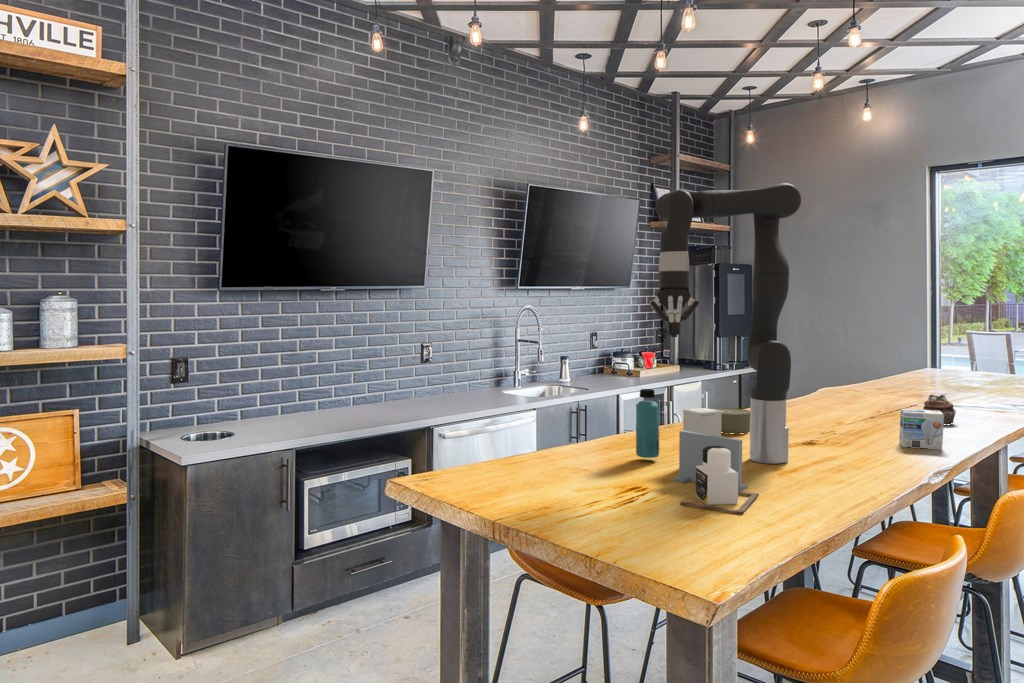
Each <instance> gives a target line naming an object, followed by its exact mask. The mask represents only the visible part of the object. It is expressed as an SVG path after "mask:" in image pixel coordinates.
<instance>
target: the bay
mask: <svg viewBox="0 0 1024 683" xmlns="http://www.w3.org/2000/svg"><path fill="white" fill-rule="evenodd" d="M743 495H744V497H748V498H747V499H746V500H745V502H744V503H743V504H741V506H740V507H739V508H738V509H736V508H730V507H729V508H728V507H723V506H717V505H706V504H705V503H704V504H703V503H696V502H689V501H685V500H684V501H680V504H679V505H680V506H683V507H689V508H695V509H703V510H707V509H708V511H715V512H721V513H726V514H727V513H728V514H734V515H739V514H740V516H743V515H744V514H745V513H746V512H747V510H749V508H750V507H751V506H752V505H753V504H754V502H756V500H757V499H758V498H759V497H760V494H759V493H756V492H750V491H744V490H741V491H738V496H743ZM758 496H759V497H758ZM757 497H758V498H757ZM751 504H752V505H751ZM744 512H745V513H744Z"/></svg>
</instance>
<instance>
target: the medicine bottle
mask: <svg viewBox="0 0 1024 683" xmlns="http://www.w3.org/2000/svg"><path fill="white" fill-rule="evenodd" d="M730 466H731V451H730V449H728V448H726V447H723V446H707V447H705V448H704V449H703V465H701V466H696V482H695V497H697V498H698V499H699V500H700V501H701V502H703V503H704V505H711V506H717V505H719V506H720V505H737V504H738V503H739V501H738V500H739V498H738V497H739V495H738V473H737V472H736V471H734V470H733V469H731V468H730Z"/></svg>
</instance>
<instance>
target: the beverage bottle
mask: <svg viewBox="0 0 1024 683" xmlns="http://www.w3.org/2000/svg"><path fill="white" fill-rule="evenodd" d="M639 397H640V398H643V399H644V398H647V399H648V398H649V399H651V398H655V397H656V395H655V389H653V388H652V389H651V388H641V389H640V390H639ZM659 407H660V405H659V404H658V402H656V401H654V400H640V401H638V402H637V404H635V416H636V417H635V452H636V453H635V454H636V456H637V457H640V458H644V459H646V458H647V459H651V458H652V459H653V458H658V457H659V455H660V419H659V416H660V415H659V414H660V413H659Z"/></svg>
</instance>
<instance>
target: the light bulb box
mask: <svg viewBox="0 0 1024 683" xmlns="http://www.w3.org/2000/svg"><path fill="white" fill-rule="evenodd" d="M899 419H900V423H899V441H898V442H899V445H900V446H901V448H907V447H911V449H920V448H928V449H927V450H933V449H942V450H943V444H944V443H943V440H944V439H943V438H944V425H943V424H944V414H943V413H942V412H940V411H937V410H924V409H912V408H911V409H910V408H909V409H907V408H900V418H899ZM929 448H930V449H929Z"/></svg>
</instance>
